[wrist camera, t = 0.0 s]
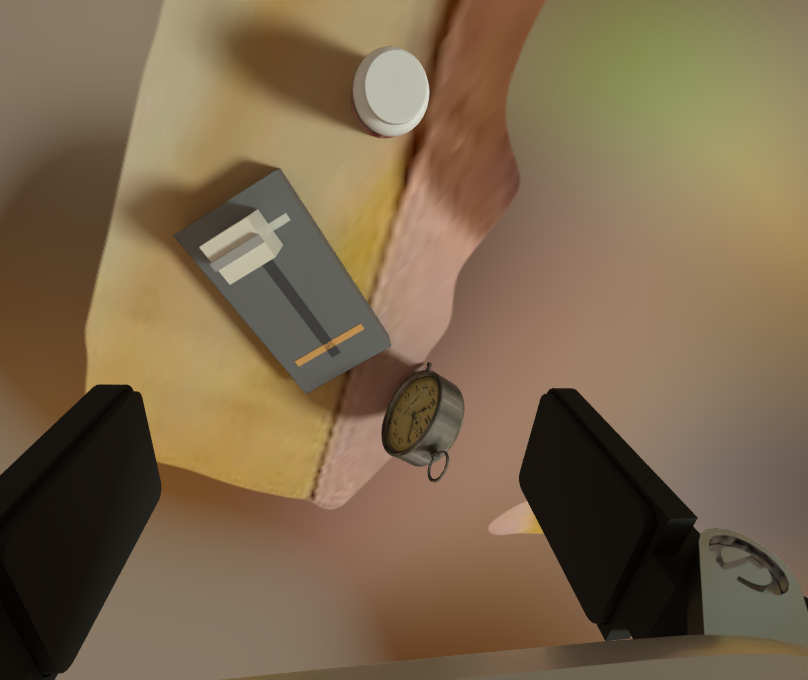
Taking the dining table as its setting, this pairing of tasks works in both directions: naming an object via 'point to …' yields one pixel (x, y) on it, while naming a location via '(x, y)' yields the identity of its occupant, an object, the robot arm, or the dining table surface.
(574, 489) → the robot arm
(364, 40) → the dining table surface
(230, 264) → the fader knob
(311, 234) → the fader console
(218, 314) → the dining table surface
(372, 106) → the pill bottle
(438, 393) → the alarm clock
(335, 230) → the dining table surface
